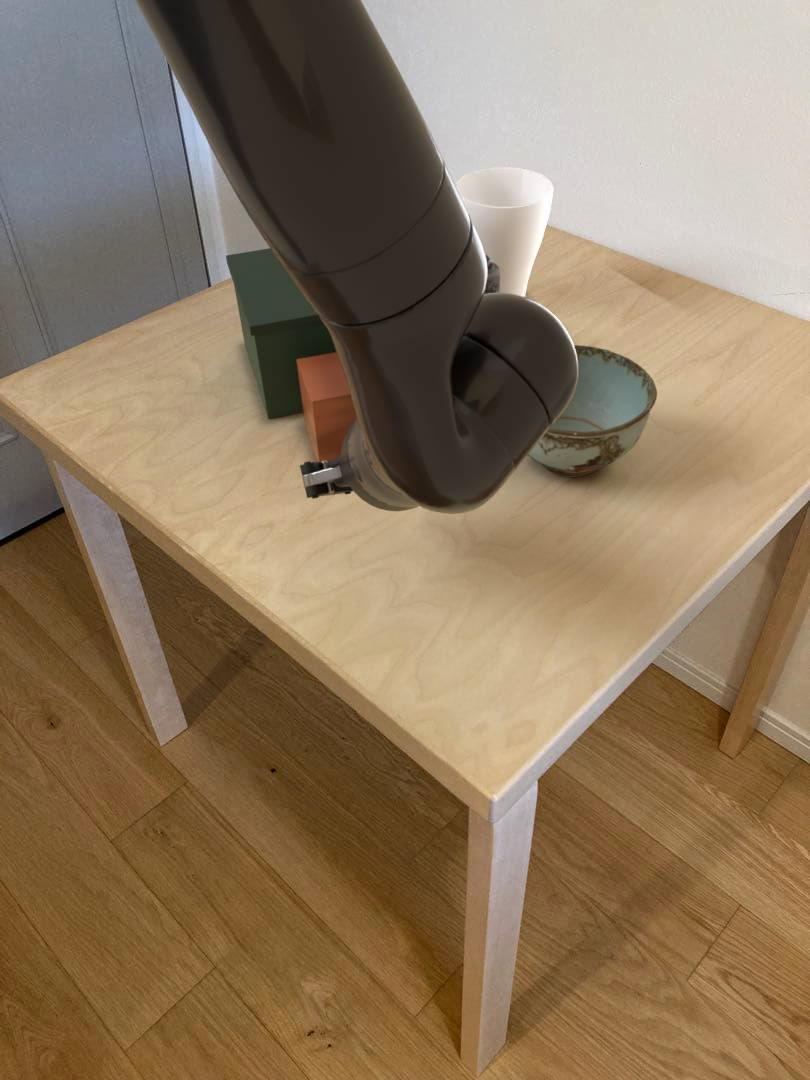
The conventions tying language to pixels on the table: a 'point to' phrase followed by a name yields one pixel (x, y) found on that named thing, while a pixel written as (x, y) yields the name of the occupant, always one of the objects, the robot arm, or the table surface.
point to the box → (275, 328)
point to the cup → (508, 218)
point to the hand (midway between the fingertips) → (367, 476)
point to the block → (325, 404)
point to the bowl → (598, 415)
